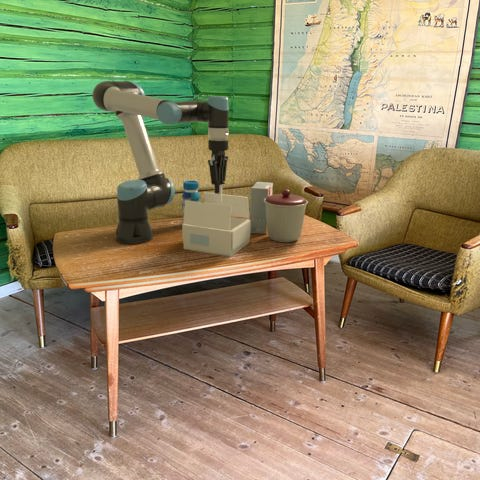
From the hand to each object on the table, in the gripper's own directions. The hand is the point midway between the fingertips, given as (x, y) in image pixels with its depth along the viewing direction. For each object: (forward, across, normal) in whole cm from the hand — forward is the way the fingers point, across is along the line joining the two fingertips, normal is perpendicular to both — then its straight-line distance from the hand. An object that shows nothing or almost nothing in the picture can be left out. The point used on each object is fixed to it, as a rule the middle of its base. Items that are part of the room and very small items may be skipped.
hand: (218, 201), depth 188 cm
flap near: (+3, -9, 0) cm, 10 cm away
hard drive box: (+19, +29, -7) cm, 35 cm away
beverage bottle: (+18, +20, +23) cm, 36 cm away
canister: (+19, +20, -21) cm, 34 cm away
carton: (+18, -1, 0) cm, 18 cm away
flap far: (+3, +7, 0) cm, 8 cm away
